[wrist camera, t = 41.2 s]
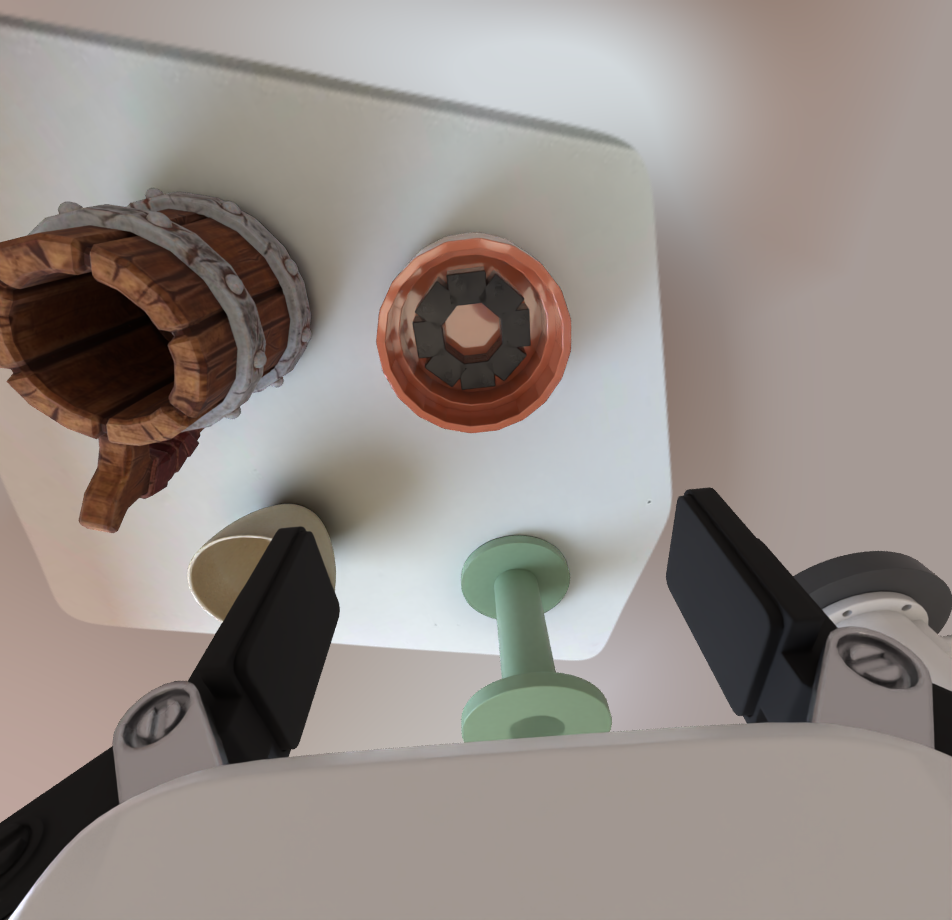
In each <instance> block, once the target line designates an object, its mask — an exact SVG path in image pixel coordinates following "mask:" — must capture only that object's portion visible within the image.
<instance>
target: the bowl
mask: <svg viewBox="0 0 952 920" xmlns="http://www.w3.org/2000/svg"><path fill="white" fill-rule="evenodd" d="M482 266H483V267H484V269H485V272H486V279H487V278H488V276H489V275H490V274H491V272H492V271H493V270H495V271H496V272H497V273H498V274H500V275H501V276H502V277H503V278H504V279H505V280H506V281H508V282H509V283H510V284H511V285H512V286H513V287H514V288H516V289H517V290H518V291H519V292H520V293H521V294H522V296H523V297H524V301H523V302H522V303H526V305H527V306H528V308H529V313H530V335H531V346H525V347H524V349H525V352H526V354H527V356H526V357H525V359H524V360H523V361H522V362H521V363H520V364H519V365H518V367H517V368H516V369H515V370H514V371H513V372H512V373H511V375H510V376H509V377H508V378H507V379H506V380H505V381H503V380H501V379H500V378H499V377H497V376H496V375H495V383H496V386H494V387H485V388H476V389H467V390H462V389H461V383H460V379H459V380H458V381H457V383H456V384H455V385H454V386H453V387H450V386H449V385H448V384H446V383H445V382H444V381H442V380H441V379H440V378H438V377H437V376H435V375H434V374H433V373H431V372H430V371H429V370H427V369H426V368H425V367H424V366H425V362H426V358H421V359H419V358H418V352H417V347H416V341H415V336H414V330H413V324H412V323H413V320H414V317H415V316H419V315H417V314H416V313H415V310H416V307H417V305H418V304H419V302H420V301H421V299H422V298H423V297H424V295H425V294H426V292H427V291H428V290H429V288H430V287H431V285H432V284H433V283H434V281H435V280H436V278H437V277H440V278H441V279H442V280H443V281H445V282H446V283H447V278H446V275H447V271H449V270H458V269H466V268H474V267H482ZM444 329H445V336H446V342H447V343H448V344H450V345H451V346H452V347H454V348H455V349H456V350H457V351H459V352H460V353H461V354H463V355H464V356H465V355H474V354H482V353H486V352H487V351H488V350H489V349H490V348H491V346H492V345H493V344H494V343H495V342H496V340H497V339H498V338H499V337H500V327H499V317H498V316H497V315H495V314H494V313H493V312H492V311H491V310H489V309H488V308H487V307H486V306H485V305H483V304H482V303H477V304H469V305H460V306H457V307H456V308H455V309H454V311H453V312H452V313H451V315H450V316H449V317H448V319H447V320H446V321H445V323H444ZM376 342H377V343H376V344H377V348H378V353H379V357H380V361H381V366H382V370H383V373H384V375H385V376H386V378H387V380H388V382H389V383H390V385H391V387H392V388H393V390H394V392H395V393H396V395H397V397H398V398H399V399H400V400H401V401H402V402H403V403H405V404H406V405H407V406H408V407H409V408H410V409H411V410H412V411H413V412H414V413H415V414H417V415H418V416H419V417H421V418H423V419H425V420H427V421H429V422H431V423H433V424H435V425H437V426H439V427H441V428H444V429H449V430H455V431H460V432H466V433H478V432H487V431H496V430H500V429H502V428H504V427H507V426H509V425H512V424H514V423H517V422H519V421H521V420H523V419H525V418H526V417H527V416H529V415H530V414H531V413H532V412H534V411H535V410H536V409H538V408H539V407H540V406H541V405H543V404H544V403H545V402H546V401H547V399H548V398H549V396H550V395H551V393H552V392H553V391H554V389H555V388H556V386H557V385H558V383H559V382H560V380H561V379H562V377H563V374H564V371H565V367H566V364H567V361H568V358H569V355H570V352H571V318H570V315H569V311H568V308H567V305H566V302H565V299H564V296H563V293H562V290H561V289H560V287H559V286H558V285H557V283H556V282H555V281H554V279H553V278H552V277H551V275H550V274H549V273H548V271H547V270H546V269H545V267H544V266H543V265H542V264H541V263H540V262H539V261H538V260H536V259H535V258H534V257H533V256H531V255H530V254H529V253H527V252H526V251H524V250H523V249H521V248H520V247H518V246H517V245H515V244H513V243H512V242H510V241H509V240H507V239H505V238H502V237H497V236H493V235H489V234H485V233H480V232H471V233H463V234H455V235H449V236H446V237H444V238H442V239H440V240H438V241H436V242H434V243H432V244H430V245H428V246H426V247H424V248H422V249H421V250H420V251H419V252H418V253H417V254H416V255H415V257H414V258H413V259H412V260H411V261H410V262H409V263H408V264H407V265H406V266H405V267H404V268H403V269H402V271H401V272H400V273H399V274H398V275H397V277H396V278H395V279H394V280H393V282H392V284H391V286H390V288H389V290H388V293H387V295H386V297H385V299H384V301H383V304H382V306H381V308H380V312H379V318H378V329H377V339H376Z"/></svg>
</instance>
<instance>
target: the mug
mask: <svg viewBox="0 0 952 920" xmlns="http://www.w3.org/2000/svg"><path fill="white" fill-rule="evenodd" d="M145 196H146V199H144V200H140V201H136V202H133V203H130V204H129V205H128V206H127V207H121V206H115V205H109V204H105V205H99V206H93V207H86V208H83V207H82V206H80V205H78V204H76V203H73V202H64V203H62V204H60V206H59V208H58V212H59V214H58V215H55V216H51V217H47V218H45V219H44V220H43V221H42V222H41V223H39V224H38V225H37V226H36V227H35V228H34V229H33V230H32V231H31V232H30V233H29V234H28V235H27V236H24V237H20V238H16V239H12V240H8V241H4V242H0V368H7V369H11V370H12V371H13V374H12V375H11V377H10V378H9V379H8V380H7V382H8V383H9V384H10V385H11V386H12V387H13V388H14V389H15V390H16V391H17V392H18V393H19V394H20V395H21V396H22V397H23V398H24V399H25V400H26V401H27V402H28V403H29V404H30V405H31V406H33V407H34V408H36V409H37V410H39V411H41V412H42V413H44V414H45V415H47V416H48V417H50V418H51V419H53V420H55V421H56V422H58V423H59V424H61V425H62V426H64V427H66V428H68V429H70V430H73V431H76V432H78V433H81V434H84V435H87V436H89V437H92V438H95V439H97V438H98V439H99V447H100V448H99V458H98V467H97V469H96V471H95V473H94V475H93V477H92V479H91V481H90V483H89V485H88V487H87V489H86V491H85V493H84V498H83V503H82V507H81V512H80V517H79V522H80V524H81V525H82V526H84V527H86V528H87V529H92V530H98V531H104V532H109V533H115V532H117V531H118V529H119V527H120V525H121V523H122V520H123V518H124V516H125V514H126V511H127V509H128V508H129V507H130V506H131V505H132V504H133V503H134V502H135V501H136V500H137V499H139V498H143V499H146V498H148V497H150V496H153V495H154V494H156V493H157V492H159V491H161V490H162V489H164V488H165V487H167V484H168V481H169V480H170V479H171V478H172V477H173V475H174V473H176V472H178V471H179V470H180V468H181V467H182V465H183V464H184V462H185V460H186V459H187V457H190V456H191V455H192V453H193V452H194V450H195V449H196V447H197V446H198V444H199V442H198V441H197V440H198V438H199V437H200V432H201V431H202V430H203V429H204V428H205V427H209V426H212V425H213V424H215V423H216V422H218V421H219V420H221V419H222V418H224V417H226V418H228V419H235V418H237V417H238V416H239V415H240V413H241V408H240V406H241V405H242V404H244V403H245V402H246V401H248V400H249V398H250V396H251V395H252V393H255V392H260V391H262V390H264V389H265V388H267V387H268V386H270V385H271V386H273V387H280V386H281V385H282V384H283V381H284V380H283V376H284V375H286V374H287V373H289V372H290V371H292V370H293V368H294V367H295V365H296V363H297V362H298V360H299V358H300V357H301V355H302V353H303V352H304V350H305V349H306V347H307V342H308V341H309V340H310V339H311V336H312V334H311V331H310V330H309V328H310V321H311V312H310V308H309V303H308V298H307V293H306V289H305V284H304V281H303V279H302V277H301V275H300V274H299V272H298V267H297V265H296V263H295V262H294V261H293V260H292V259H291V258H290V256H289V254H288V252H287V251H286V249H285V247H284V246H283V245H282V244H281V243H280V242H279V241H278V240H277V239H276V238H275V237H274V236H273V235H272V234H271V233H270V232H269V231H268V230H267V229H266V228H265V227H264V226H263V225H262V224H261V223H260V222H259V221H257V220H256V219H255V218H254V217H252V216H250V215H249V214H247V213H245V212H243V211H241V210H240V208H239V207H238V205H237V204H235V203H234V202H231V201H226V202H224V201H222V200H221V199H219V198H215V197H208V196H202V195H196V194H190V193H184V192H175V193H169V194H164V193H163V192H162V191H160V190H159V189H155V188H151V189H149V190H147V192H146V195H145Z"/></svg>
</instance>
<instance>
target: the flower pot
mask: <svg viewBox="0 0 952 920" xmlns="http://www.w3.org/2000/svg"><path fill="white" fill-rule="evenodd" d="M298 526H302V527H304V528H305V529H306V531H311V532H312V533H313V535H314V538H315V540H316V543H317V546H318V548H319V551H320V554H321V556H322V559H323V562H324V564H325V567H326V570H327V573H328V575H329V578H330V581H331V583H332V586H333V589H334V591H335V583H336V566H335V557H334V552H333V547H332V543H331V540H330V537H329V535H328V532H327V530H326V528H325V526H324V524H323V523H322V521H321V520H320V518H319V517H318V516H317V515H316V514H315V513H314V512H312V511H311V510H309V509H307V508H305V507H303V506H300V505H296V504H279V505H274V506H270V507H266V508H263V509H260V510H257V511H255V512H253V513H250V514H248V515H246V516H244V517H242V518H240V519H238V520H237V521H235V522H233V523H232V524H230V525H228V526H227V527H225V528H224V529H223V530H221V531H220V532H219V533H217V534H216V535H215V536H213V537H212V538H211V539H210V540H209V541H208V542H207V543H205V544H204V545H203V546H202V547H201V548H200V549H199V550H198V551H197V553H196V554H195V555H194V556H193V558H192V559H191V562H190V564H189V567H188V574H187V578H188V584H189V587H190V590H191V592H192V594H193V596H194V598H195V599H196V601H197V602H198V603H199V605H200V606H201V607H202V608H203V609H204V610H205V611H206V612H207V613H209V614H210V615H211V616H212V617H214V618H215V619H217V620H218V621H220V622H223V621H224V619H225V617H226V615H227V614H228V612H229V610H230V609H231V607H232V605H233V604H234V602H235V600H236V598H237V597H238V595H239V593H240V592H241V590H242V589H243V587H244V586H245V584H246V583H247V581H248V579H249V578H250V576H251V574H252V572H253V571H254V569H255V567H256V566H257V564H258V562H259V561H260V559H261V557H262V555H263V554H264V552H265V550H266V549H267V547H268V545H269V543H270V542H271V540H272V538H273V537H274V535H275V533H276V532H277V530H278V529H280V528H288V527H298Z"/></svg>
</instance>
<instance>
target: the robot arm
mask: <svg viewBox="0 0 952 920" xmlns="http://www.w3.org/2000/svg"><path fill="white" fill-rule="evenodd" d="M666 580H667V585H668V588H669V590H670V592H671V594H672V596H673V598H674V599H675V601H676V603H677V605H678V607H679V609H680V611H681V613H682V615H683V617H684V618H685V620H686V622H687V624H688V626H689V628H690V630H691V632H692V634H693V636H694V638H695V640H696V641H697V643H698V645H699V647H700V649H701V651H702V653H703V655H704V657H705V659H706V661H707V662H708V664H709V666H710V668H711V670H712V672H713V674H714V676H715V678H716V680H717V681H718V683H719V685H720V687H721V689H722V691H723V693H724V695H725V697H726V699H727V701H728V702H729V704H730V706H731V708H732V709H733V711H734V712H735V714H736V715H738V716H743V717H744V719H745V720H746V722H747V724H730V725H710V726H690V727H675V728H662V729H646V730H632V731H618V732H603V733H588V734H573V735H560V736H546V737H533V738H519V739H505V740H492V741H479V742H465V743H452V744H439V745H427V746H414V747H401V748H389V749H376V750H363V751H351V752H338V753H326V754H317V755H306V756H296V757H289V754H290V751H291V749H295V748H297V746H298V744H299V742H300V739H301V736H302V733H303V730H304V727H305V723H306V720H307V717H308V713H309V711H310V707H311V704H312V701H313V698H314V695H315V691H316V688H317V685H318V682H319V679H320V676H321V672H322V669H323V666H324V663H325V660H326V656H327V653H328V650H329V647H330V644H331V641H332V637H333V634H334V631H335V628H336V625H337V621H338V618H339V613H340V607H339V602H338V599H337V597H336V594H335V591H334V589H333V586H332V583H331V581H330V578H329V575H328V573H327V570H326V567H325V564H324V562H323V559H322V556H321V554H320V551H319V548H318V546H317V543H316V540H315V538H314V535H313V533H312V532H311V531H306V529H305V528H304V527H302V526H298V527H288V528H280V529H278V530H277V532H276V533H275V535H274V537H273V538H272V540H271V542H270V543H269V545H268V547H267V549H266V550H265V552H264V554H263V555H262V557H261V559H260V561H259V562H258V564H257V566H256V567H255V569H254V571H253V572H252V574H251V576H250V578H249V579H248V581H247V583H246V584H245V586H244V587H243V589H242V590H241V592H240V593H239V595H238V597H237V598H236V600H235V602H234V604H233V605H232V607H231V609H230V610H229V612H228V614H227V615H226V617H225V619H224V621H223V622H222V624H221V626H220V627H219V629H218V631H217V632H216V634H215V636H214V638H213V639H212V641H211V643H210V644H209V646H208V648H207V649H206V651H205V653H204V655H203V656H202V658H201V660H200V661H199V663H198V665H197V666H196V668H195V670H194V671H193V673H192V675H191V677H190V678H189V680H188V681H174V682H171V683H167V684H164V685H162V686H160V687H158V688H156V689H154V690H152V691H150V692H149V693H147V694H146V695H144V696H143V697H142V698H140V699H139V700H138V701H137V702H136V703H135V704H134V705H133V706H132V707H130V708H129V709H128V710H127V712H126V713H125V715H124V716H123V717H122V718H121V720H120V721H119V723H118V725H117V727H116V730H115V732H114V737H113V746H112V747H111V748H109V749H108V750H106V751H105V752H103V753H102V754H100V755H99V756H97V757H96V758H94V759H93V760H92V761H90V762H89V763H87V764H86V765H84V766H83V767H81V768H80V769H78V770H77V771H76V772H74V773H73V774H71V775H70V776H68V777H67V778H65V779H64V780H62V781H61V782H60V783H58V784H56V785H55V786H53V787H52V788H51V789H49V790H48V791H46V792H45V793H43V794H42V795H40V796H39V797H37V798H36V799H34V800H33V801H32V802H30V803H29V804H27V805H26V806H24V807H23V808H21V809H20V810H18V811H17V812H16V813H14V814H13V815H11V816H10V817H8V818H7V819H5V820H4V821H2V822H1V823H0V920H952V635H947V636H943V637H942V636H939V635H938V634H937V633H936V632H935V631H934V630H932V629H931V628H930V627H929V626H928V615H927V612H926V611H925V610H924V608H923V607H922V606H921V605H919V604H918V603H917V602H916V601H915V600H914V599H912V598H911V597H909V596H906V595H904V594H901V593H896V592H882V591H879V592H869V593H863V594H859V595H854V596H851V597H848V598H845V599H842V600H839V601H837V602H835V603H833V604H831V605H828V606H827V607H825V608H823V609H821V608H820V607H819V606H818V604H817V603H816V602H815V601H814V600H813V599H812V598H811V596H810V595H809V594H808V593H807V592H806V591H805V590H804V589H803V587H802V586H801V585H800V584H799V583H798V582H797V581H796V579H795V578H794V577H793V576H792V575H791V574H790V573H789V571H788V570H787V569H786V568H785V567H784V566H783V565H782V563H781V562H780V561H779V560H778V559H777V558H776V557H775V555H774V554H773V553H772V552H771V551H770V550H769V549H768V547H767V546H766V545H765V544H764V543H763V542H762V541H760V539H758V538H756V537H755V536H754V535H753V533H752V532H751V531H750V530H749V529H748V528H747V527H746V525H745V524H744V523H743V522H742V521H741V520H740V519H739V517H738V516H737V515H736V514H735V513H734V512H733V511H732V509H731V508H730V507H729V506H728V505H727V504H726V502H725V501H724V500H723V499H722V498H721V497H720V495H719V494H718V493H717V492H716V491H715V490H714V489H713V488H700V489H689V490H687V491H686V492H685V493H684V496H680V497H679V498H678V500H677V505H676V512H675V519H674V525H673V532H672V539H671V545H670V552H669V558H668V565H667V572H666Z"/></svg>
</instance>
